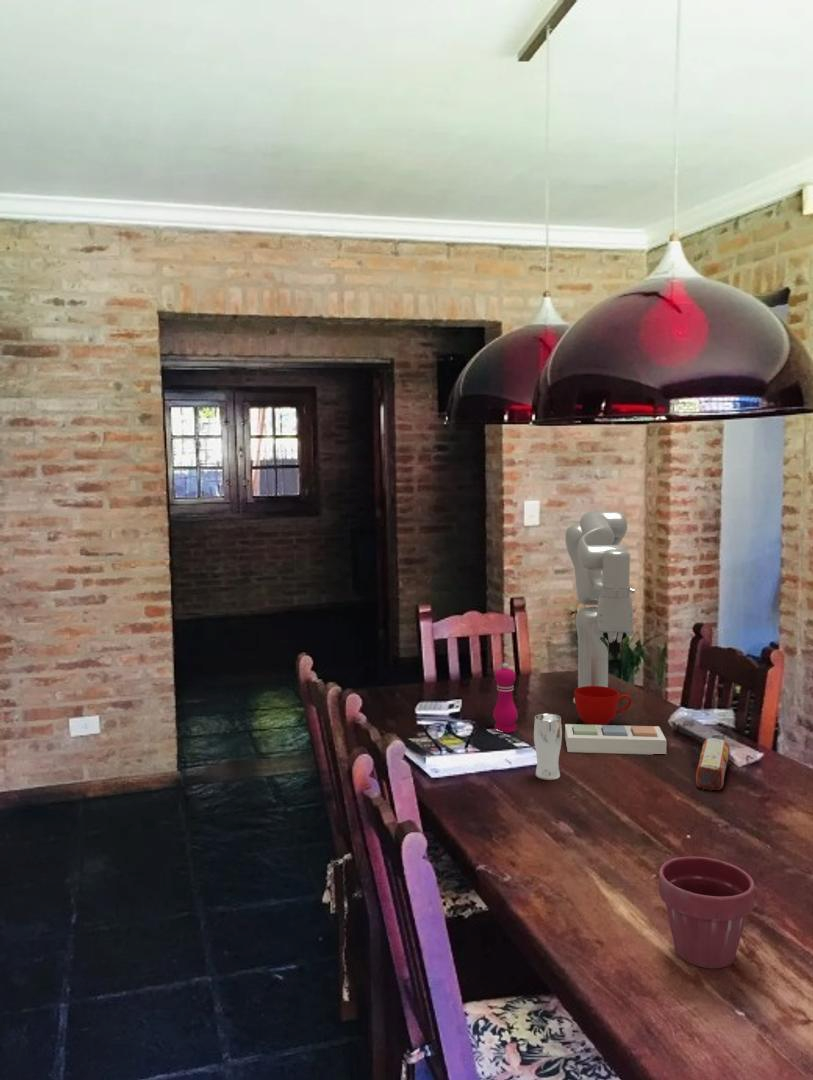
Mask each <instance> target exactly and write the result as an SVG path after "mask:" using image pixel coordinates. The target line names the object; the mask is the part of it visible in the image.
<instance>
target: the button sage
mask: <svg viewBox="0 0 813 1080" xmlns="http://www.w3.org/2000/svg"><path fill="white" fill-rule="evenodd" d="M572 724H573V723H572ZM573 735H597V731H596V728H595V725H586V724H578V725H577V724H576V723H574V724H573Z"/></svg>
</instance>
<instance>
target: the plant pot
mask: <svg viewBox="0 0 813 1080" xmlns="http://www.w3.org/2000/svg"><path fill="white" fill-rule="evenodd" d="M658 872H659V873H658V874H659V875H658V893H659V896H660V899H662V901H663V902H664V903H665V908H666V913H667V917H668V923H669V927H670V932H671V936H672V941H673V945H674V949H675V951H676V954H677V955H678V956H679V957H681V959H683V960H684V961H686V962H687V963H689V964H692V965H694V966H696V967H700V968H705V969H721V968H726V967H729V966H730V965H732V964H733V963H734V961H735V959H736V955H737V953H738V948H739V945H740V942H741V938H742V933H743V930H744V927H745V923H746V917H747V916H748V915H749V914H750V913H751V912H752V911H753V910H754V904H755V883H754V880H753V878H752V877H751V875H750V874H748V873H747V871H745V870H743V869H741V868H740V867H738V866H737V865H734V864H731V863H730V862H726V861H723V860H721V859H720V860H719V859H716V858H712V857H711V858H710V857H704V856H681V857H675V858H672V859H669V860H667V861H665V862H664V863H663V864H662V865H661V866H660V867H659V871H658Z"/></svg>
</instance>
